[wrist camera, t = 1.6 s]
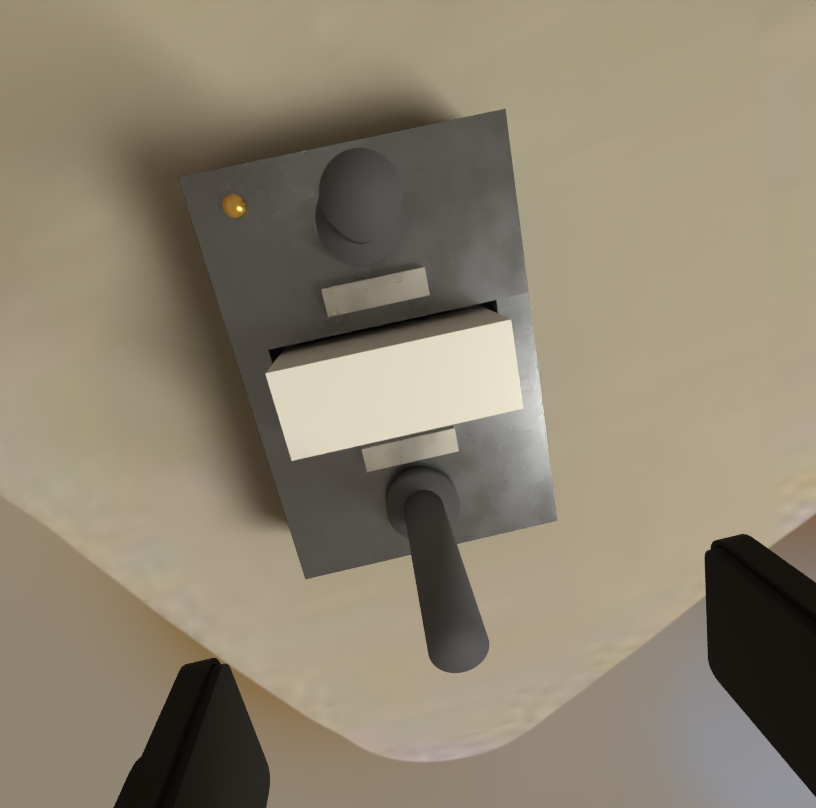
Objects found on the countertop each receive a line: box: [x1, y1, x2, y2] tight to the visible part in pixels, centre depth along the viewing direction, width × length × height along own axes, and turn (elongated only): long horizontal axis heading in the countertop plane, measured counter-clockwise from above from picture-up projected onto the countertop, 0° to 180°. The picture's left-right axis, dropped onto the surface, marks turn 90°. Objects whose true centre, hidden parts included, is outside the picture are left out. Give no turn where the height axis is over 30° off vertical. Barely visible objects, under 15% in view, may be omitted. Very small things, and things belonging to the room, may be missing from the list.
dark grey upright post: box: [315, 148, 404, 265], centre depth 22 cm, size 5×5×13 cm
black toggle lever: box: [386, 467, 489, 673], centre depth 27 cm, size 5×5×13 cm
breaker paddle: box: [265, 306, 524, 461], centre depth 30 cm, size 5×13×7 cm, turn 102°
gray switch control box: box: [178, 109, 557, 579], centre depth 33 cm, size 26×18×7 cm
